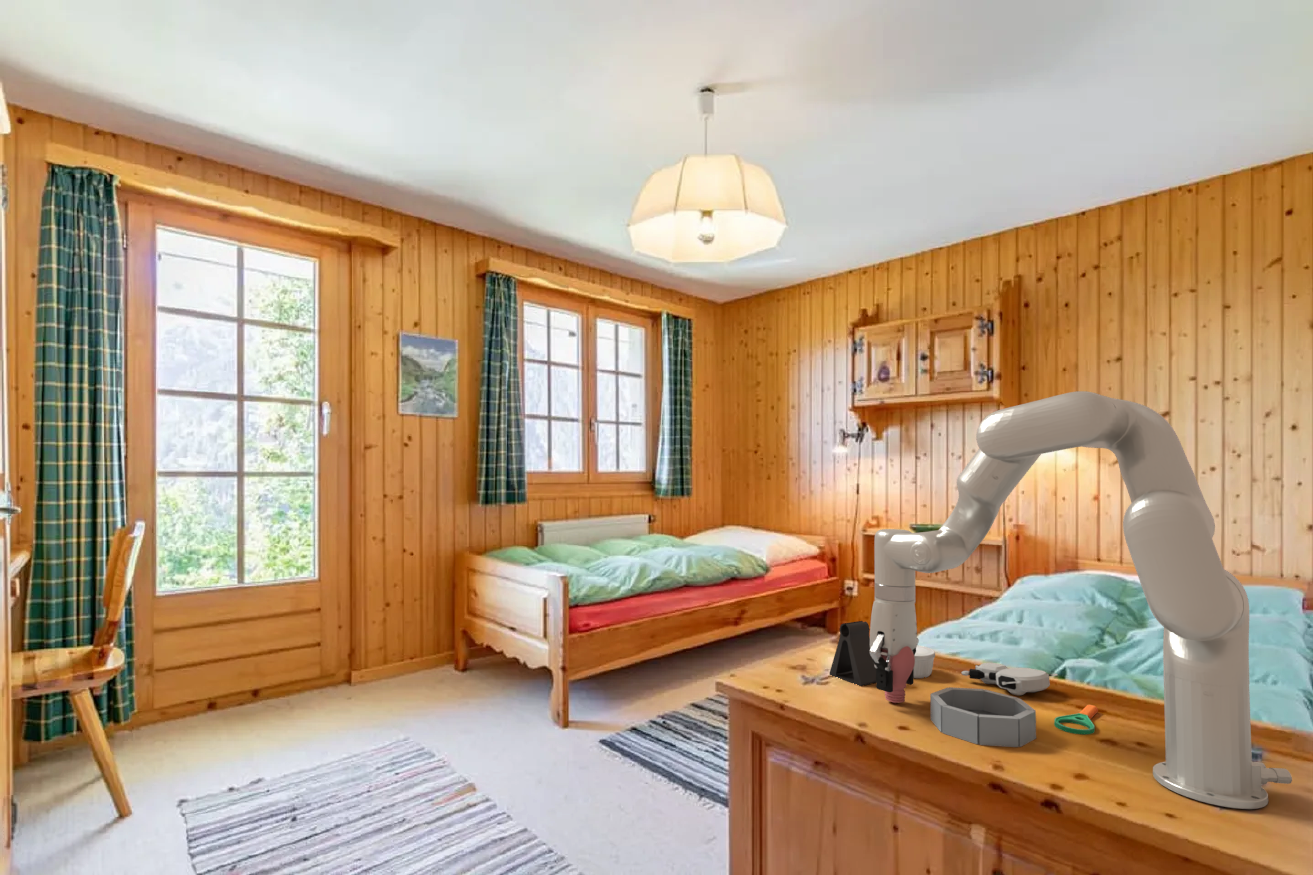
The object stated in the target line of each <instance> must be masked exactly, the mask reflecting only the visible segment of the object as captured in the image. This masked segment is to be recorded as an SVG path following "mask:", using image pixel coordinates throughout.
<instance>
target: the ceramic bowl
mask: <svg viewBox="0 0 1313 875" xmlns="http://www.w3.org/2000/svg"><path fill="white" fill-rule="evenodd" d="M1036 713H1037V712H1036V709H1034V708H1033V707H1032V706H1030V705H1029V704H1028V703H1027V702H1025V701H1024V700H1023V699H1022V698H1019V697H1017V696H1012V695H1009V694H1004V693H1001V692H996V691H992V690H989V689H984V688H970V687H969V688H967V687H952V686H951V687H950V686H949V687H945V688H943V689H942V688H941V689H940V690H937V691H935V692H932V693H931V692H930V721H931V722H932V723H933V725H934V726H935V727H936V728H937V729H938V731H939V732H940V733H942V734H944V735H948V736H951V737H953V738H956V739H960V740H963V741H965V742H969V743H972V744H975V745H979V746H988V747H989V746H993V747H1009V748H1010V747H1011V748H1021V747H1023V746H1025V745H1027V744H1029V743H1030V742H1032V741H1034V740H1036V739H1037V718H1036V717H1037V716H1036V715H1037V714H1036Z"/></svg>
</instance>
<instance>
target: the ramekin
mask: <svg viewBox="0 0 1313 875" xmlns="http://www.w3.org/2000/svg"><path fill="white" fill-rule="evenodd" d="M914 657H915V665H914V679H924V677H925V678H928V677H929V676H930V675H932V672H933V668H934V662H935V661H934V659H935V657H936V652H935V650H934V649H932V648H931V647H926V646H923V645H919V644H918V645H917V647H916V653H915V655H914Z"/></svg>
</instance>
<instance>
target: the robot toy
mask: <svg viewBox="0 0 1313 875" xmlns="http://www.w3.org/2000/svg"><path fill="white" fill-rule="evenodd" d="M961 675H962V676H966V677H967V676H969V679H974V680H981V681H982V682H983V684H987V685H997V686H998V687H999V688H1001V689H1004V690H1007V691H1008V692H1009V693H1010V694H1012V695H1014V696H1023V695H1025V694H1026V693H1037V692H1040V691H1045V690H1047V688H1049V687H1050V686H1051V682H1050V677H1055V676H1056V677H1057V676H1058V673H1052V674H1048V672H1046V671H1045V670H1041V669H1040V670H1039V669H1036V668H1030V667H1010V668H1008V667H1007V666H1006V665H1004V664H1002V663H1001V664H1000V663H997V662H983V663H981V664H978V665H977V664H975V668H970V669H969V670H963V671H961Z"/></svg>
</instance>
